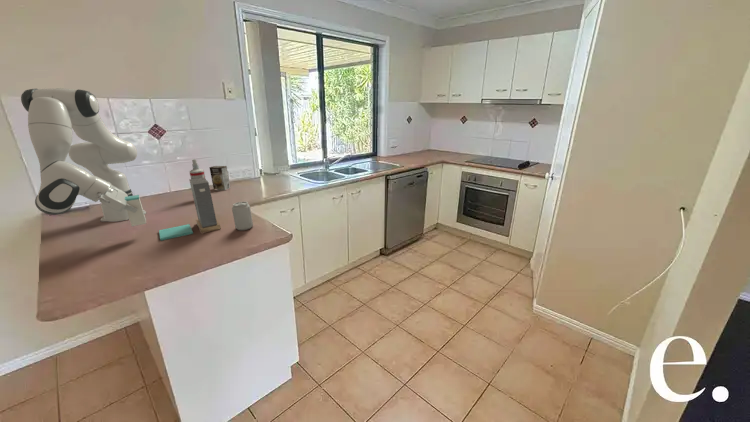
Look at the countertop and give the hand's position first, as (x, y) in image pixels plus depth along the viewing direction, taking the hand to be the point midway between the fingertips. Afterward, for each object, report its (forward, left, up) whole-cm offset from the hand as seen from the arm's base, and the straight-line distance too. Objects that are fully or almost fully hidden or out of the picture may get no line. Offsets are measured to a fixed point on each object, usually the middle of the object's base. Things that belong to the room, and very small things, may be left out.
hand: (136, 208), depth 128 cm
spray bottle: (-50, +29, -13) cm, 59 cm away
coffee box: (-71, +44, -13) cm, 85 cm away
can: (+18, +37, -13) cm, 44 cm away
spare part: (0, -1, -6) cm, 6 cm away
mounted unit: (+5, +24, -13) cm, 28 cm away
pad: (+4, +11, -13) cm, 18 cm away
